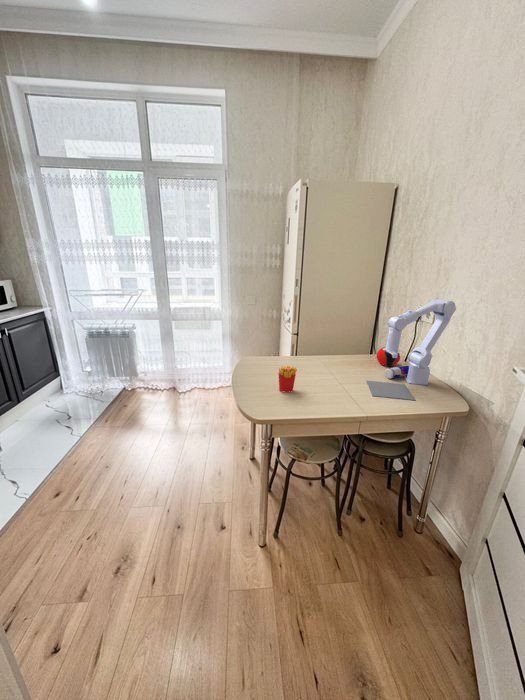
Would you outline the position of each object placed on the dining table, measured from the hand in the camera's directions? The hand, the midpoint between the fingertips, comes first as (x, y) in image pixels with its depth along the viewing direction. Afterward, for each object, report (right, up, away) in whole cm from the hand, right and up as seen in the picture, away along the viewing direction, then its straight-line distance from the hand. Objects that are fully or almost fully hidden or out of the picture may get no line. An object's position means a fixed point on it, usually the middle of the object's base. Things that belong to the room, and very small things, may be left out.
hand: (388, 366), depth 144 cm
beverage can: (+3, -4, +8) cm, 9 cm away
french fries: (-53, -11, -8) cm, 55 cm away
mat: (-2, -11, -5) cm, 12 cm away
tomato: (+11, -1, +28) cm, 31 cm away
